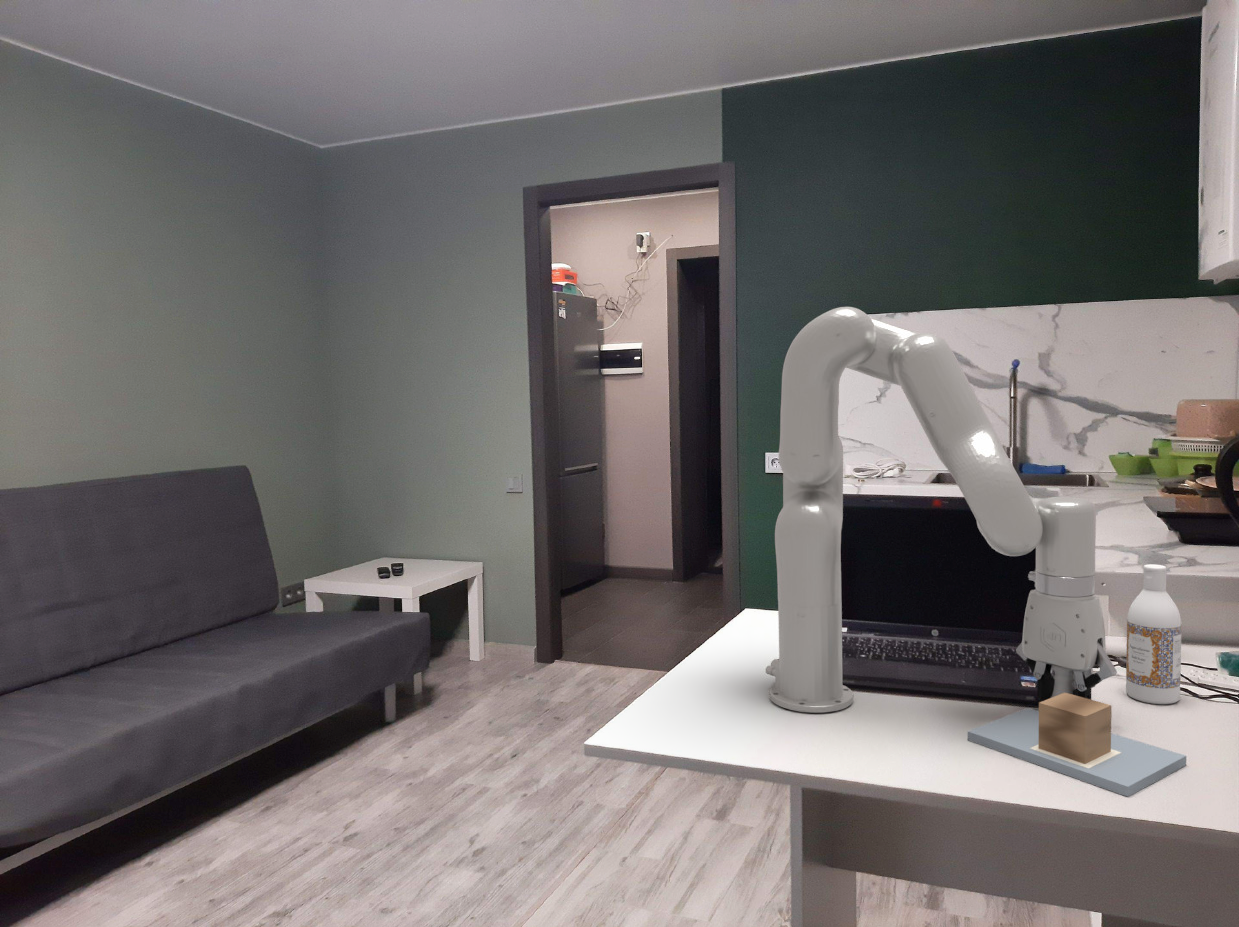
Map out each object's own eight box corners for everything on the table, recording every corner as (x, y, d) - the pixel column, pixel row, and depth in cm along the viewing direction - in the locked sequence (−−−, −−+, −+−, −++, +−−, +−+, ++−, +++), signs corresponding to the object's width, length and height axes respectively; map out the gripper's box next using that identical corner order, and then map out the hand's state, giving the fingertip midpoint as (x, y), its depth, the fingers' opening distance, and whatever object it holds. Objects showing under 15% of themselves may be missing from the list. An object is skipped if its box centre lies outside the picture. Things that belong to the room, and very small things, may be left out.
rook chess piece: (1085, 722, 124) (1086, 666, 124) (1051, 720, 125) (1051, 665, 125) (1075, 710, 129) (1076, 656, 128) (1042, 709, 130) (1043, 655, 129)
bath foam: (1115, 694, 135) (1117, 564, 133) (1146, 686, 138) (1148, 559, 136) (1158, 708, 129) (1161, 572, 127) (1190, 700, 131) (1193, 567, 130)
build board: (967, 739, 120) (967, 730, 120) (1027, 715, 127) (1027, 707, 127) (1127, 796, 102) (1127, 786, 102) (1186, 764, 110) (1186, 755, 110)
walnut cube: (1038, 748, 113) (1038, 702, 113) (1064, 736, 117) (1064, 692, 116) (1085, 763, 108) (1085, 716, 108) (1110, 751, 112) (1111, 705, 111)
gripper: (995, 579, 130) (994, 700, 132) (1111, 599, 116) (1109, 734, 118) (1024, 571, 135) (1024, 689, 136) (1140, 591, 121) (1138, 721, 122)
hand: (1063, 708), depth 127 cm, fingers closed on rook chess piece, 4 cm apart
